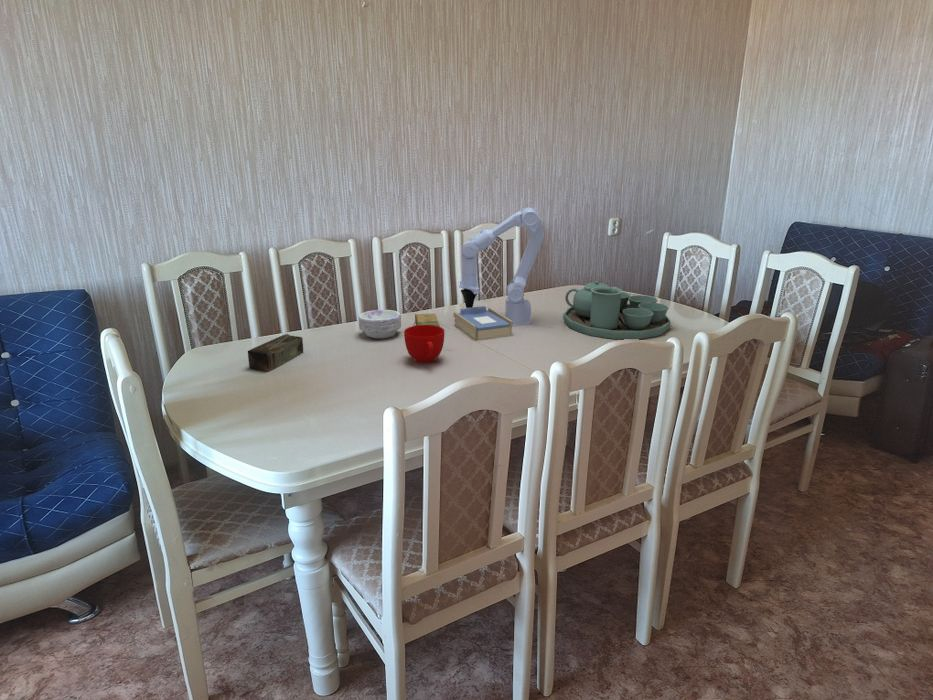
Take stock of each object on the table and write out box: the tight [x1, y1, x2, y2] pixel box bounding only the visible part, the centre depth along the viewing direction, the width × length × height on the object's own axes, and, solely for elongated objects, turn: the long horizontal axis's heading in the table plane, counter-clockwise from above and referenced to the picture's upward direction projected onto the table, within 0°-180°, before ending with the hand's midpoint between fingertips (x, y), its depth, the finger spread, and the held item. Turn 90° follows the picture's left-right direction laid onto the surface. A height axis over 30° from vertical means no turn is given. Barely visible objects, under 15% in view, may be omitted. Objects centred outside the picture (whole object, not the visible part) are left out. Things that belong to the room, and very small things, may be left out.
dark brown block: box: [247, 333, 304, 373], centre depth 193 cm, size 8×19×7 cm, turn 160°
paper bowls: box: [358, 309, 402, 340], centre depth 218 cm, size 15×15×8 cm
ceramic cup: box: [403, 325, 445, 364], centre depth 192 cm, size 13×17×10 cm
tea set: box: [562, 280, 671, 340], centre depth 230 cm, size 40×40×16 cm
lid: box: [457, 305, 510, 330], centre depth 222 cm, size 13×20×3 cm, turn 23°
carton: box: [414, 313, 441, 327], centre depth 226 cm, size 8×16×4 cm, turn 8°
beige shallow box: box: [452, 307, 514, 341], centre depth 222 cm, size 15×20×6 cm
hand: (469, 308), depth 232 cm, fingers closed
